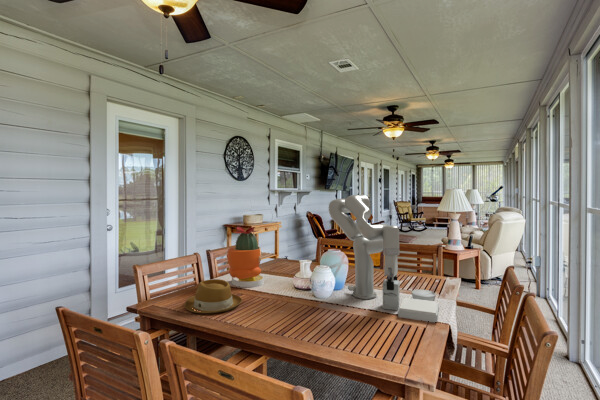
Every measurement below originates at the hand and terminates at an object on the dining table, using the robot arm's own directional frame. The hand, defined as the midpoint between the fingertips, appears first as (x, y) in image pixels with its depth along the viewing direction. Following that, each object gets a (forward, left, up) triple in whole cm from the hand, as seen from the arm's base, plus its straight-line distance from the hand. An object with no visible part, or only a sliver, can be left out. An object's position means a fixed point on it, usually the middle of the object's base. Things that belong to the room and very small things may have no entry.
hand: (392, 287), depth 159 cm
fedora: (-83, -30, -10) cm, 89 cm away
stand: (+12, -3, -10) cm, 16 cm away
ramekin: (+13, +12, -10) cm, 21 cm away
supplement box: (-1, 0, -10) cm, 10 cm away
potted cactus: (-89, +6, -10) cm, 89 cm away
